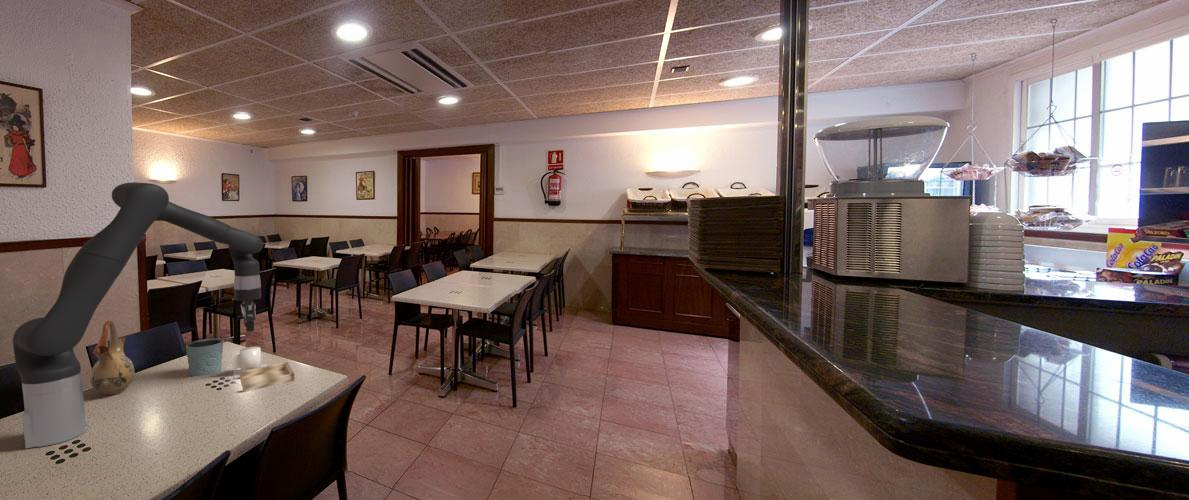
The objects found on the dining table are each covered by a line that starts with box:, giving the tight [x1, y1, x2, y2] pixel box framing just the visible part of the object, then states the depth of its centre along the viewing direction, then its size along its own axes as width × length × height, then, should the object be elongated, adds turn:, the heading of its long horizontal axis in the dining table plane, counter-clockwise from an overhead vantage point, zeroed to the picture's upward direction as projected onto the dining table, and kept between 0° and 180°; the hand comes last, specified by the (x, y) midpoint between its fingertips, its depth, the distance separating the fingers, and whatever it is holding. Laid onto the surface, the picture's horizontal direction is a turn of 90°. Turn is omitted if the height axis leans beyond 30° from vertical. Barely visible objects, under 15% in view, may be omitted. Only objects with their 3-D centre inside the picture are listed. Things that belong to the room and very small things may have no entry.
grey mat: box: [232, 363, 268, 381], centre depth 147 cm, size 10×10×1 cm
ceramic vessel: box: [89, 320, 135, 396], centre depth 128 cm, size 16×9×25 cm, turn 37°
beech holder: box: [239, 361, 295, 393], centre depth 142 cm, size 14×15×3 cm
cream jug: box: [230, 346, 262, 371], centre depth 146 cm, size 8×6×9 cm
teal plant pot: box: [185, 338, 224, 378], centre depth 146 cm, size 10×10×12 cm
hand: (249, 328), depth 146 cm, fingers open, 8 cm apart
